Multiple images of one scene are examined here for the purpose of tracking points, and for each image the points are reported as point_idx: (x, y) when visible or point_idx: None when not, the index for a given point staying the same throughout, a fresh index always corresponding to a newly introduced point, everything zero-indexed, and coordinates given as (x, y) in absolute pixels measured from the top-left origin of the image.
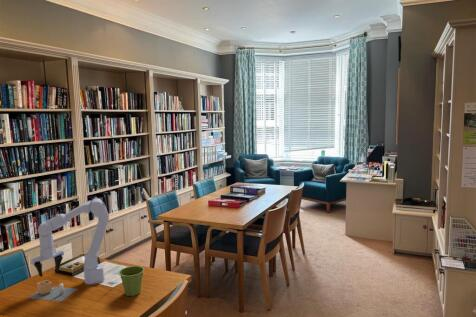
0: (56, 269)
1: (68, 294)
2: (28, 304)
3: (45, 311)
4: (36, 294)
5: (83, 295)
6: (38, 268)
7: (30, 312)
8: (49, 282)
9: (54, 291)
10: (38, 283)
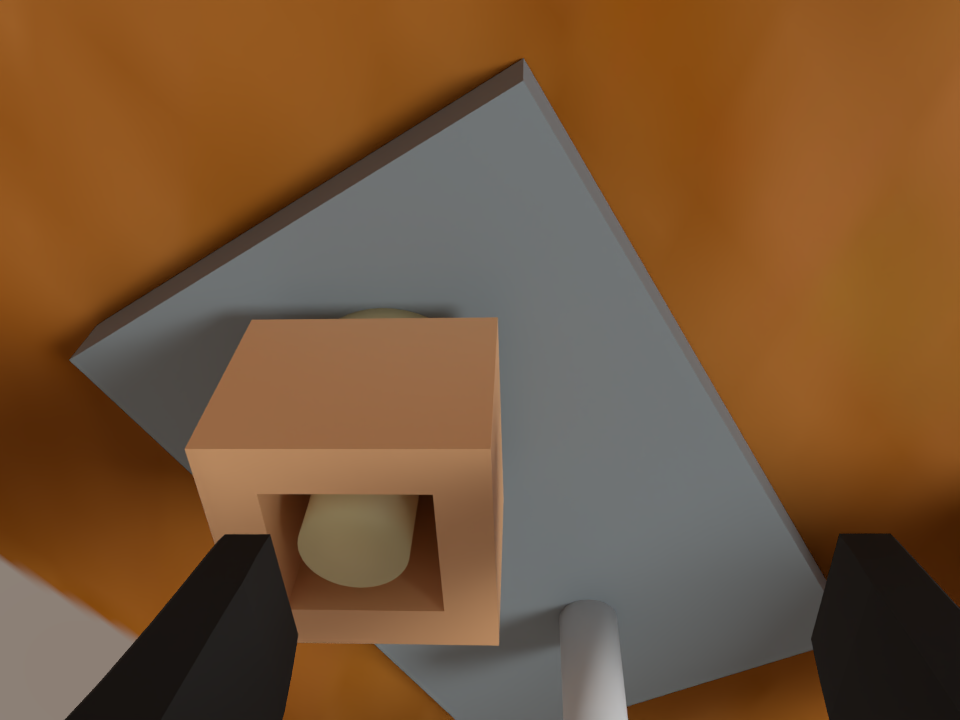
0: (841, 635)
1: (649, 679)
2: (109, 440)
3: (293, 715)
4: (236, 345)
5: (802, 704)
6: None
7: (132, 636)
8: (458, 620)
9: (542, 469)
10: (224, 500)
